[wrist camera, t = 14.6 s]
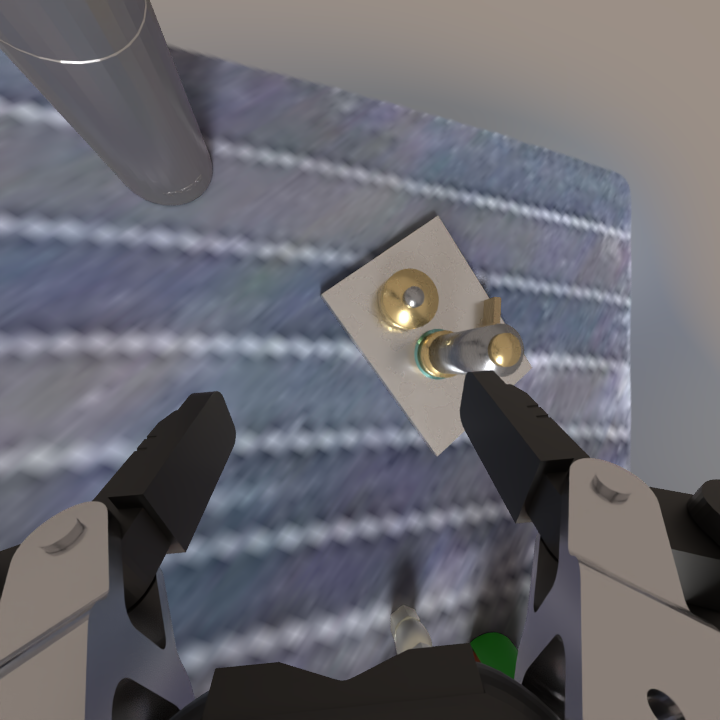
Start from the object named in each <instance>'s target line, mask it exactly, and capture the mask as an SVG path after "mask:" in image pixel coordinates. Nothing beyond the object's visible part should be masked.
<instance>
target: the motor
mask: <svg viewBox="0 0 720 720" xmlns="http://www.w3.org/2000/svg"><path fill="white" fill-rule="evenodd" d="M470 644H471V647H472V649H473V654H474V658H475V661H476V662H480V663H483V664H485V665H488V666H490V667H492V668H494V669H497V670H499V671H501V672H503V673H504V674H506V675H507V676H509V677H511V678H512V679H514V677H515V669H516V661H517V655H518V650H517V649H516V647H515V646H514V645H513V643H512V642H511V641H510V640H509V639H508V638H507V637H506V636H504V635H502V634H500V633H486V634H483V635H481V636H479V637H477V638H475V639H474V640H473V641H472V642H470Z"/></svg>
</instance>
